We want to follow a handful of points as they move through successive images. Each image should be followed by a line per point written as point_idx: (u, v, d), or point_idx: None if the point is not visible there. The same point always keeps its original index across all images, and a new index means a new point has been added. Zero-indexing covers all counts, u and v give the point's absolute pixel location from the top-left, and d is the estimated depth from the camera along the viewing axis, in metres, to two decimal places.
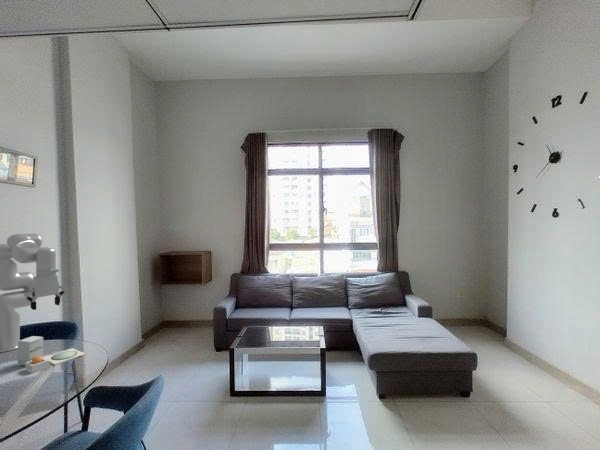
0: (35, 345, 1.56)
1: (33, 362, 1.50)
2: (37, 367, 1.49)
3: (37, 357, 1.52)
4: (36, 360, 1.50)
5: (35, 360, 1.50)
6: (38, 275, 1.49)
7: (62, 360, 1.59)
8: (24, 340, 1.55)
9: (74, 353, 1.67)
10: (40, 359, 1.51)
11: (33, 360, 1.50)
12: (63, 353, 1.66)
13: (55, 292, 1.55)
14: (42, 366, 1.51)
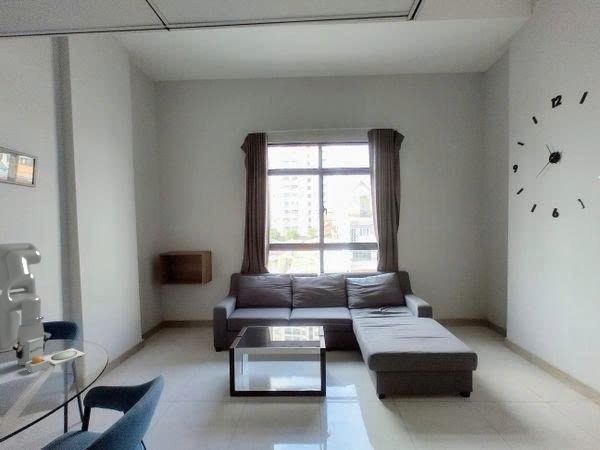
0: (35, 345, 1.56)
1: (33, 362, 1.50)
2: (37, 367, 1.49)
3: (37, 357, 1.52)
4: (36, 360, 1.50)
5: (35, 360, 1.50)
6: (23, 324, 1.53)
7: (62, 360, 1.59)
8: None
9: (74, 353, 1.67)
10: (40, 359, 1.51)
11: (33, 360, 1.50)
12: (63, 353, 1.66)
13: None
14: (42, 366, 1.51)
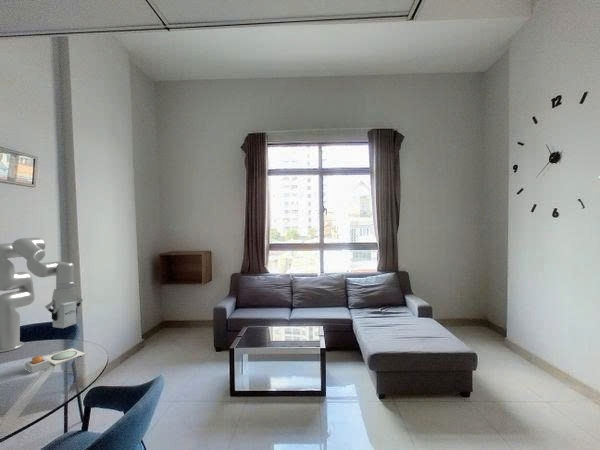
0: (69, 308, 1.63)
1: (33, 362, 1.50)
2: (37, 367, 1.49)
3: (37, 357, 1.52)
4: (36, 360, 1.50)
5: (35, 360, 1.50)
6: (58, 288, 1.60)
7: (62, 360, 1.59)
8: None
9: (74, 353, 1.67)
10: (40, 359, 1.51)
11: (33, 360, 1.50)
12: (63, 353, 1.66)
13: None
14: (42, 366, 1.51)
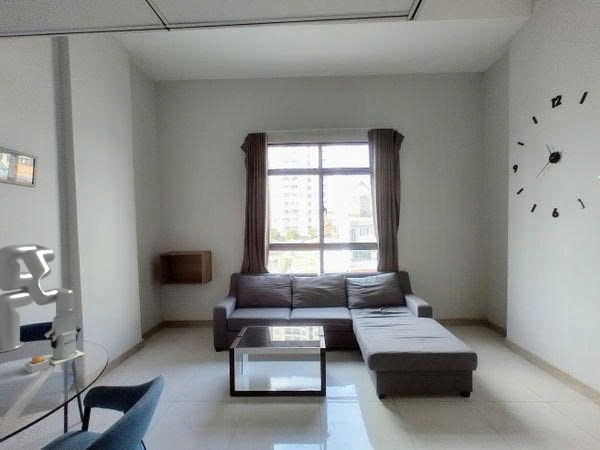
0: (69, 338, 1.63)
1: (33, 362, 1.50)
2: (37, 367, 1.49)
3: (37, 357, 1.52)
4: (36, 360, 1.50)
5: (35, 360, 1.50)
6: (58, 316, 1.61)
7: (62, 360, 1.59)
8: None
9: (74, 353, 1.67)
10: (40, 359, 1.51)
11: (33, 360, 1.50)
12: None
13: (73, 330, 1.66)
14: (42, 366, 1.51)
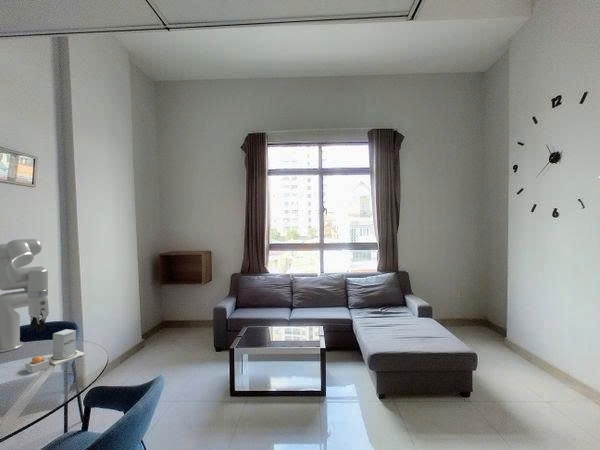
0: (69, 338, 1.63)
1: (33, 362, 1.50)
2: (37, 367, 1.49)
3: (37, 357, 1.52)
4: (36, 360, 1.50)
5: (35, 360, 1.50)
6: None
7: (62, 360, 1.59)
8: (58, 333, 1.62)
9: (74, 353, 1.67)
10: (40, 359, 1.51)
11: (33, 360, 1.50)
12: None
13: (35, 316, 1.48)
14: (42, 366, 1.51)
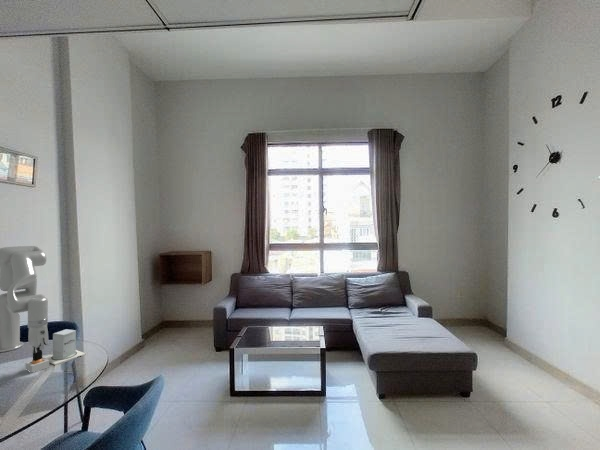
0: (69, 338, 1.63)
1: None
2: (37, 367, 1.49)
3: None
4: (36, 362, 1.50)
5: (35, 362, 1.50)
6: None
7: (62, 360, 1.59)
8: (58, 333, 1.62)
9: (74, 353, 1.67)
10: (40, 361, 1.51)
11: (33, 362, 1.50)
12: None
13: (35, 345, 1.48)
14: (42, 366, 1.51)
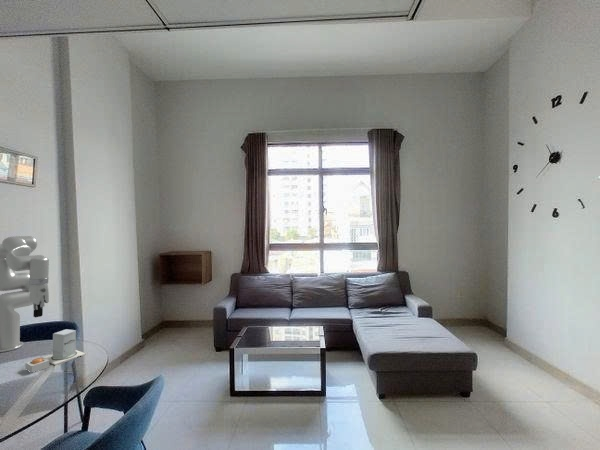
0: (69, 338, 1.63)
1: None
2: (37, 367, 1.49)
3: (37, 359, 1.52)
4: (36, 362, 1.50)
5: (35, 362, 1.50)
6: None
7: (62, 360, 1.59)
8: (58, 333, 1.62)
9: (74, 353, 1.67)
10: (40, 361, 1.51)
11: (33, 362, 1.50)
12: None
13: (36, 302, 1.53)
14: (42, 366, 1.51)
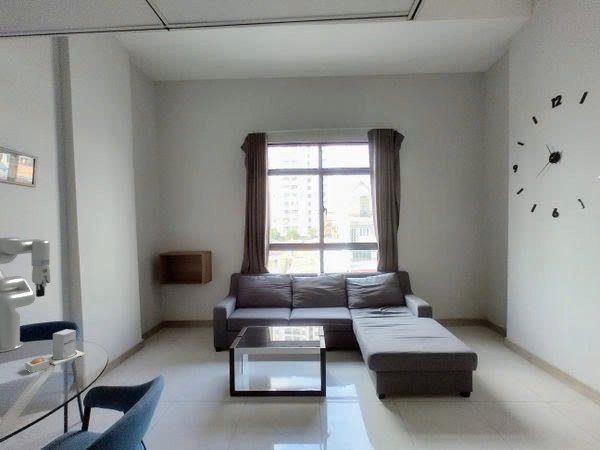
0: (69, 338, 1.63)
1: None
2: (37, 367, 1.49)
3: (37, 359, 1.52)
4: (36, 362, 1.50)
5: (35, 362, 1.50)
6: None
7: (62, 360, 1.59)
8: (58, 333, 1.62)
9: (74, 353, 1.67)
10: (40, 361, 1.51)
11: (33, 362, 1.50)
12: None
13: (38, 282, 1.63)
14: (42, 366, 1.51)
